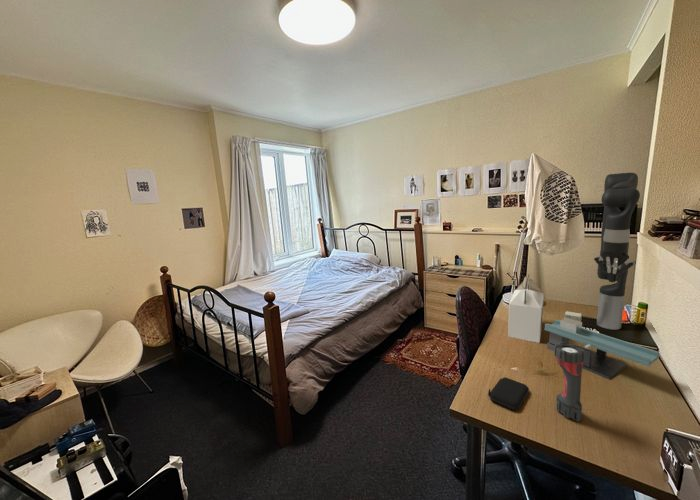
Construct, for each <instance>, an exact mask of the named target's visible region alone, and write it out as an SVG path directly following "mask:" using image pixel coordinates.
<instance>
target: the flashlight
mask: <svg viewBox="0 0 700 500" xmlns="http://www.w3.org/2000/svg"><path fill="white" fill-rule="evenodd" d="M579 347H580V345H578V344H577V343H576V344H575V343H573V344H571V343H570V344H566V342H560V344H555V349H554V351H553V353H554V354H553V356H555V360H556V363H558V365H559V366H560V368H561V369H562V370H563V371H562V372H563V384H564V386H563V387H564V389H563V391H562V393H559V394H557V395H556V401H555V402H556V411H557V412H558V413H561V414H562V416H563V417H564V418H566V419H572V420H573V421H576V422H578V423H579V422H581V421H582V412H583V411H582V410H583V404H582V402H581V393H582V391H581V390H582V376H583V370H584V369H583V362H584V354H585V353H584V352H585V351H584V350H583V349H580V348H579Z"/></svg>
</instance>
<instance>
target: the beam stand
mask: <svg viewBox="0 0 700 500" xmlns="http://www.w3.org/2000/svg"><path fill="white" fill-rule="evenodd" d="M568 344H571V343H570V342H569V343H568ZM579 348H580V349H583V350H584V351H585V352H584V353H585V354H584V362H583V369H582V370H585V371H588V372H590V373H593V374H595V375H598V376H600V377H602V378H604V379H607V380H610V379H611V378H612V377H614V376H615V375H617V374H618V373H619V372H621V371H622V370H624V369H625V368H626V367H628V363H626V362H625V361H624V362H623V361H621V360H619V359H615V358H612V357H611V356H608V352H605V351H602V350H600V349H597V348H596V351H594V350H591V349H590V348H589V349H585V347H583V346H580V345H579ZM546 349H548V350H550V351H553V352H554V349H555V344H552V343H549V341H548V342H547V343H546Z"/></svg>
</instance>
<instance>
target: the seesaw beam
mask: <svg viewBox="0 0 700 500" xmlns="http://www.w3.org/2000/svg"><path fill="white" fill-rule="evenodd" d="M544 331H547V332H549V336H548V337H549V339H548V340H549V341H548V342H549V343H552V344H560V342H566V344H568V343H570V340H571V341H573V342H574V341H575V342H578V343H581V344H583V345H585V346H584V348H585V349H589V350H590V348H594V349H596V350H597V349H600V350H602V351H605V352H607V354H611V355H614V356H616V357H620V358H623V359H625V360H628V361H631V362H634V363H636V364H640V365H641V366H646V367H650V366H651V365H653V363H655V362H656V361H657V360H658V359H659V358H660V355H659V354H660V351H658V350H655V349H652V348H651V349H650V348H648V347H645V346H641V345H638V344H636V343H632V342H629V341H626V340H622V339H619V338H616V337H612V336H609V335H607V334H603V333H599V332H598V331H594V330H590V329H587V328H585V327H582V332H581V334H577V333H574V332H571V331H568V330H565V329H562V328H560V320H558V319H554V321H553V322H552V323H551V324H550V323H545V325H544Z"/></svg>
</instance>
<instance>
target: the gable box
mask: <svg viewBox="0 0 700 500" xmlns="http://www.w3.org/2000/svg"><path fill="white" fill-rule="evenodd" d="M544 295H545V294H544V293H543V291H542V290H541V289H540V287H539V286H538V284H537V283H536V281H534V280H533V279H530V274H527V277H526V276H525V275H524V278H523V280H522V282H521V283H520V284H519V286H517V288H516V289H515V290H514V291H513V293H512V296H511V298H510V301H509V304H508V323H507V324H508V327H507V331H508V332H507V337H508V338H512V339H517V340H521V341H526V342H533V343H537V344H540V343H541V337H542V330H543V329H542V327H543V315H544V314H543V313H544Z"/></svg>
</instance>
